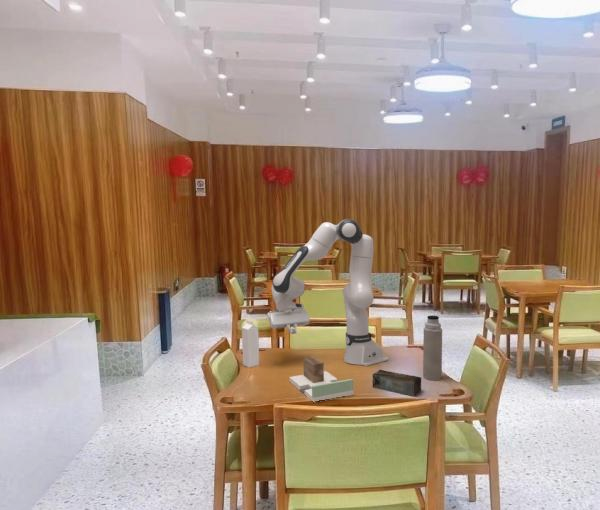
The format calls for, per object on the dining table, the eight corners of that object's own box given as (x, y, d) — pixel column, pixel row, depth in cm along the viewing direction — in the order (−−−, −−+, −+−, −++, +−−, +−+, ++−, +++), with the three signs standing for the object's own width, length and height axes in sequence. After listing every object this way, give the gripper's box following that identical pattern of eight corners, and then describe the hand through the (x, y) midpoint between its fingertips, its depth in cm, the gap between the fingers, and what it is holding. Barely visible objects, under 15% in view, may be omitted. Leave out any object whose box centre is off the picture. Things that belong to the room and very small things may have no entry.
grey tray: (325, 375, 204) (325, 361, 203) (353, 394, 181) (353, 379, 180) (289, 381, 197) (289, 367, 196) (313, 402, 174) (313, 386, 173)
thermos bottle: (423, 373, 204) (424, 313, 202) (441, 375, 202) (442, 314, 199) (422, 379, 197) (423, 317, 194) (441, 381, 194) (442, 318, 192)
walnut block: (313, 373, 200) (313, 356, 199) (323, 381, 191) (323, 363, 190) (303, 375, 198) (303, 358, 197) (313, 383, 189) (313, 364, 188)
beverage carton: (379, 381, 195) (379, 367, 195) (422, 391, 184) (422, 375, 184) (371, 387, 189) (371, 372, 188) (415, 397, 178) (415, 381, 177)
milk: (248, 367, 216) (247, 323, 213) (242, 364, 220) (241, 321, 218) (259, 365, 219) (258, 321, 217) (253, 361, 224) (251, 319, 222)
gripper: (267, 307, 216) (275, 332, 207) (306, 304, 224) (314, 327, 215) (264, 315, 220) (272, 339, 212) (302, 311, 228) (310, 334, 220)
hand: (293, 333), depth 214 cm, fingers closed
